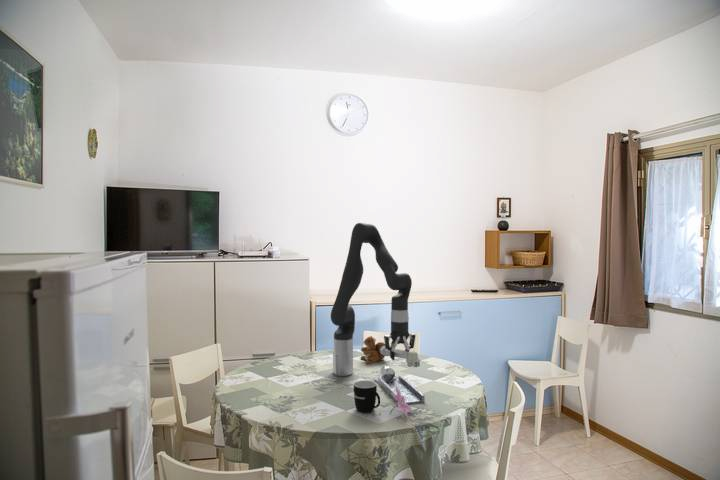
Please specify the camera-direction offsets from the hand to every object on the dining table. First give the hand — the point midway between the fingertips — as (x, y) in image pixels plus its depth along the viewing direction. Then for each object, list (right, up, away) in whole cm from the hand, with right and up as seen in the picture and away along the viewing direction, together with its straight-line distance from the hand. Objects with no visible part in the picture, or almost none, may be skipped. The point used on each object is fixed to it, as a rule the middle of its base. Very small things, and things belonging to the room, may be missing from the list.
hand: (399, 358), depth 193 cm
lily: (-2, -15, -24) cm, 28 cm away
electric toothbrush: (0, -1, 0) cm, 1 cm away
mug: (-14, -15, -20) cm, 29 cm away
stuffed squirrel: (-9, -14, +49) cm, 52 cm away
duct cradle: (-1, -15, +3) cm, 15 cm away
